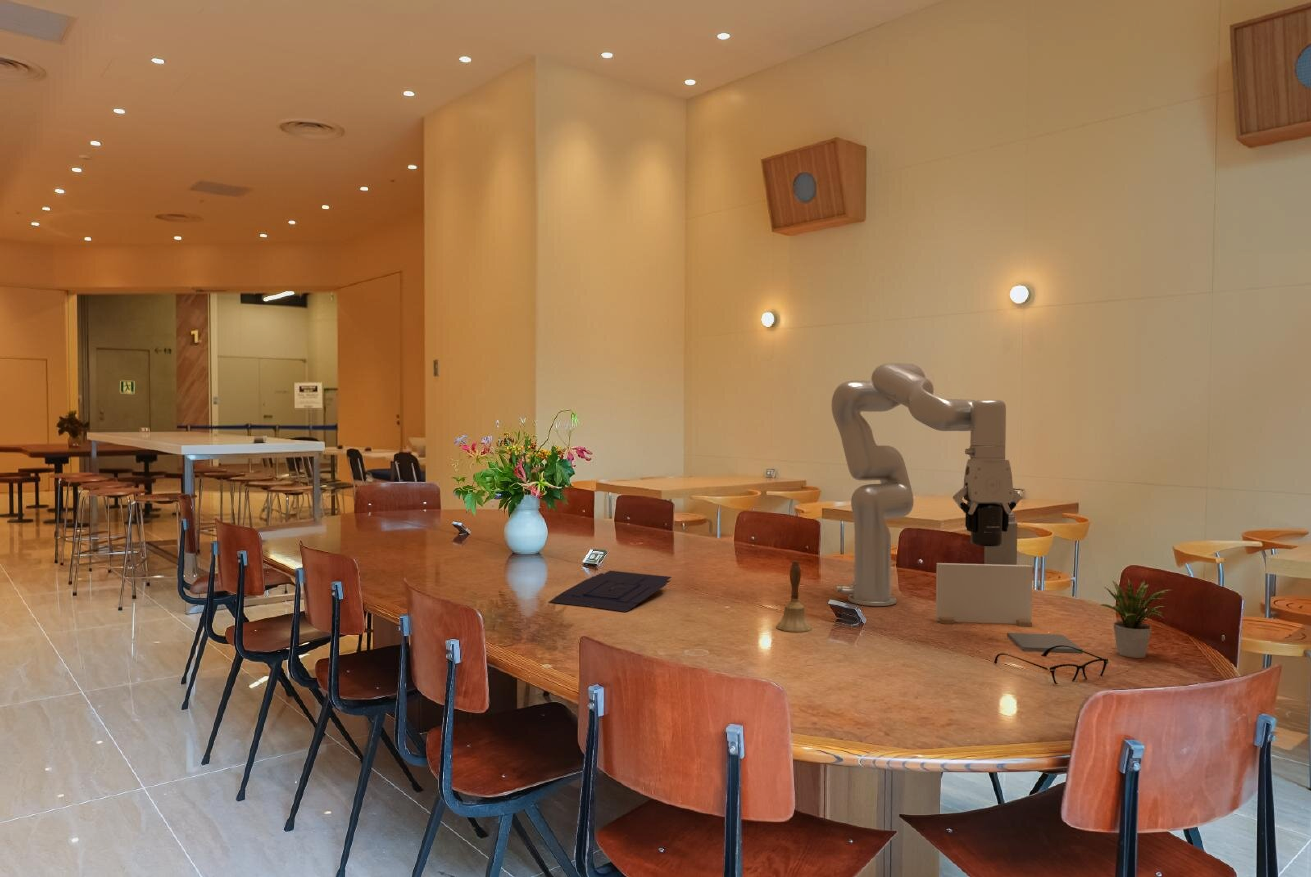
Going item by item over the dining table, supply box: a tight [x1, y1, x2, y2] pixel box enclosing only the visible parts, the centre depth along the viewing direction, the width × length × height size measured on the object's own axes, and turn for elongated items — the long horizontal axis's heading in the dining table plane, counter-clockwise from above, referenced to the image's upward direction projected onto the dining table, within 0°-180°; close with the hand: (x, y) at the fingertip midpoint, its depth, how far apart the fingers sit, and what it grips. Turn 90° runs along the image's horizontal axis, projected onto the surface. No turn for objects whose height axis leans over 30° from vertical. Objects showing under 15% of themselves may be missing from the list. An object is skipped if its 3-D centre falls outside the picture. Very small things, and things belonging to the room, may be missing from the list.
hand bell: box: [775, 560, 813, 633], centre depth 200 cm, size 8×8×16 cm
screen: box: [935, 562, 1033, 627], centre depth 207 cm, size 22×6×14 cm, turn 83°
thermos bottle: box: [983, 510, 1018, 565], centre depth 224 cm, size 8×8×28 cm
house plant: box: [1099, 576, 1174, 659], centre depth 178 cm, size 14×14×16 cm
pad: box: [1006, 632, 1083, 654], centre depth 187 cm, size 12×12×1 cm
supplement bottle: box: [970, 503, 1003, 547], centre depth 195 cm, size 7×7×12 cm
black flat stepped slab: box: [548, 570, 672, 613], centre depth 234 cm, size 24×30×4 cm
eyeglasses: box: [993, 645, 1110, 685], centre depth 169 cm, size 16×16×4 cm
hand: (986, 530), depth 195 cm, fingers closed on supplement bottle, 6 cm apart
